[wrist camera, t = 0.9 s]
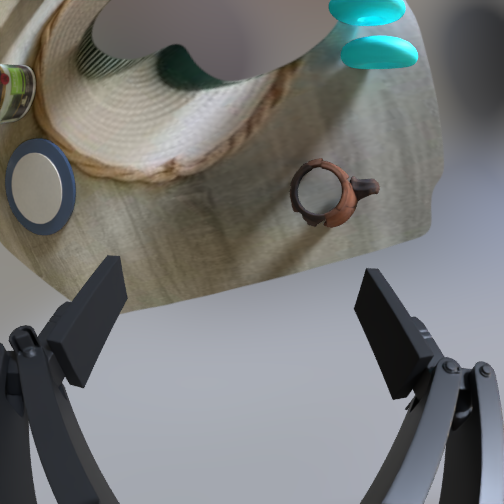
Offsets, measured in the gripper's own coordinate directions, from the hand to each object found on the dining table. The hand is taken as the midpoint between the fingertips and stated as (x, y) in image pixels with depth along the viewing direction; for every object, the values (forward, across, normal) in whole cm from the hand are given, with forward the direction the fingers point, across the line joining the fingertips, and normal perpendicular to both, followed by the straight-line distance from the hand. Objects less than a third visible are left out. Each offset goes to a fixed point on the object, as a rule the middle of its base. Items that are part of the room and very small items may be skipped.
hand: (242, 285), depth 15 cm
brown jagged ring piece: (+27, +12, -1) cm, 29 cm away
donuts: (+27, +14, +22) cm, 38 cm away
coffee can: (+27, -40, +16) cm, 50 cm away
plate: (+27, -35, -2) cm, 44 cm away
